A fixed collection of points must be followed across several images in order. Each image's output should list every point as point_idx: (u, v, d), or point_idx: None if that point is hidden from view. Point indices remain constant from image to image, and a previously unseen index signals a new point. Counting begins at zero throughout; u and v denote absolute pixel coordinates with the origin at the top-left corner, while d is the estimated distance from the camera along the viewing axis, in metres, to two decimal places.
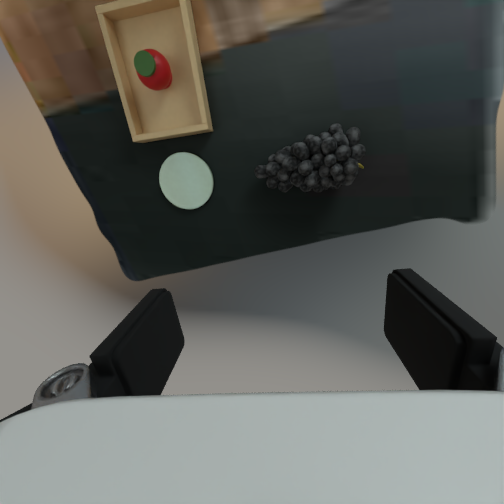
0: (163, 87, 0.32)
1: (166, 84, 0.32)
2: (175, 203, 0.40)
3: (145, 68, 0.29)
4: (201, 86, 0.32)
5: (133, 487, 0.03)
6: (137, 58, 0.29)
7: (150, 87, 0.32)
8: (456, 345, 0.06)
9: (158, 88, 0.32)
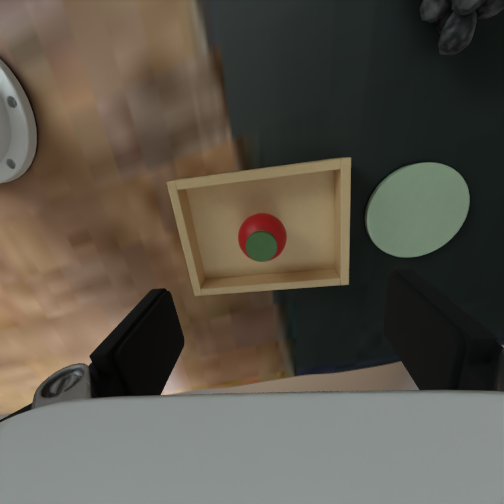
0: None
1: (280, 221, 0.21)
2: (449, 236, 0.23)
3: (267, 246, 0.19)
4: (284, 166, 0.20)
5: (133, 486, 0.03)
6: (255, 255, 0.20)
7: (284, 245, 0.21)
8: (456, 345, 0.06)
9: None
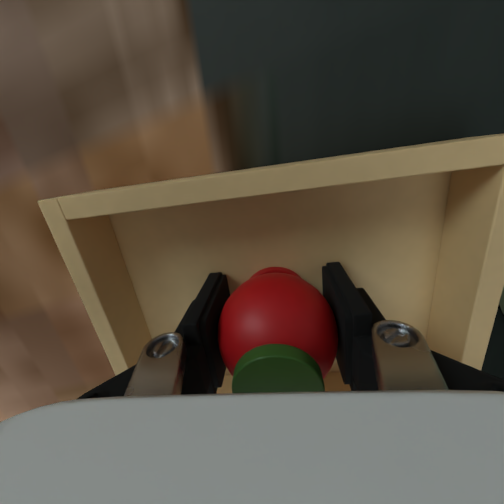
0: (331, 309, 0.08)
1: (322, 297, 0.08)
2: None
3: (296, 391, 0.07)
4: (338, 158, 0.07)
5: (133, 487, 0.03)
6: None
7: None
8: (345, 320, 0.07)
9: (336, 328, 0.08)
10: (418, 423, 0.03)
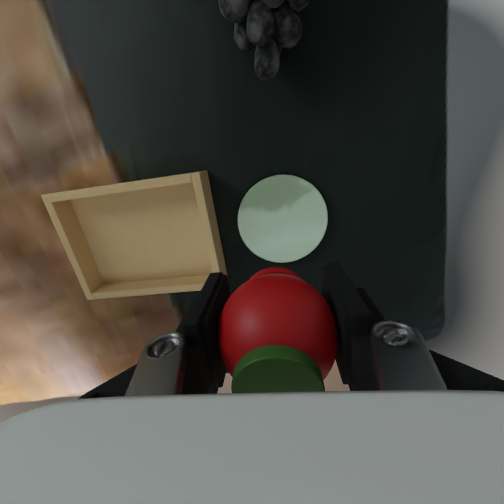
0: (331, 310, 0.08)
1: (322, 298, 0.08)
2: (315, 242, 0.24)
3: None
4: (144, 180, 0.22)
5: (133, 486, 0.03)
6: None
7: None
8: (344, 321, 0.07)
9: (336, 329, 0.08)
10: (418, 423, 0.03)
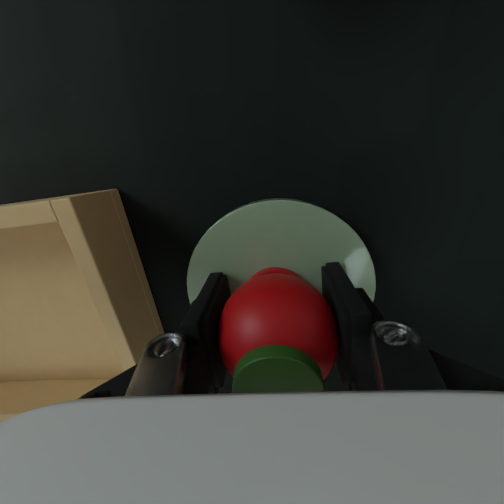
0: (331, 310, 0.08)
1: (322, 298, 0.08)
2: None
3: None
4: None
5: (133, 487, 0.03)
6: None
7: None
8: (344, 320, 0.07)
9: (336, 329, 0.08)
10: (418, 423, 0.03)
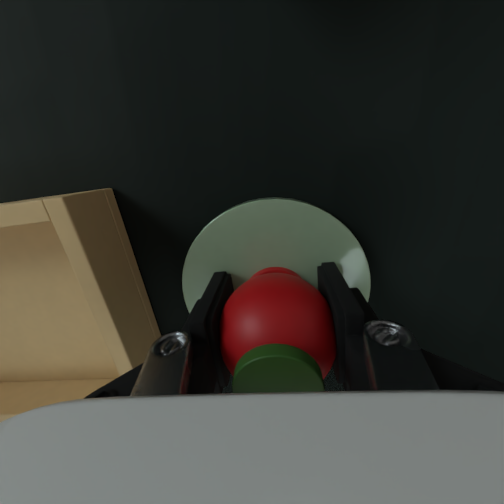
0: None
1: (322, 297, 0.08)
2: None
3: (296, 390, 0.07)
4: None
5: (133, 487, 0.03)
6: None
7: None
8: (338, 320, 0.07)
9: None
10: (418, 423, 0.03)
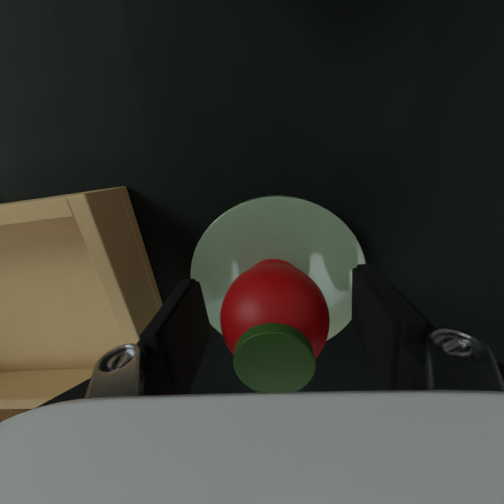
0: (323, 295, 0.09)
1: (315, 285, 0.09)
2: (340, 323, 0.13)
3: (290, 364, 0.07)
4: None
5: (133, 486, 0.03)
6: (257, 382, 0.08)
7: None
8: (393, 328, 0.07)
9: (328, 313, 0.09)
10: (418, 423, 0.03)
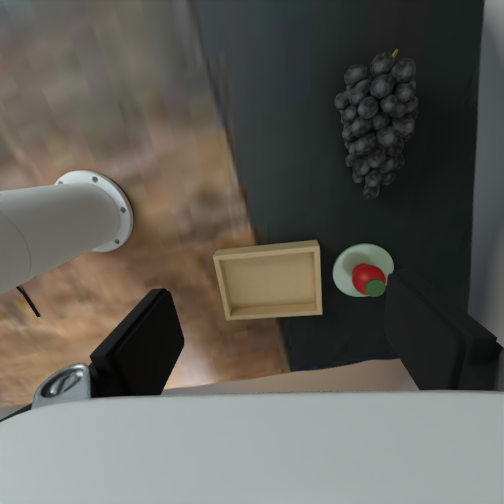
0: None
1: (381, 270, 0.34)
2: None
3: (379, 288, 0.32)
4: (282, 248, 0.35)
5: (133, 486, 0.03)
6: (370, 293, 0.32)
7: None
8: (456, 345, 0.06)
9: None
10: (418, 423, 0.03)
